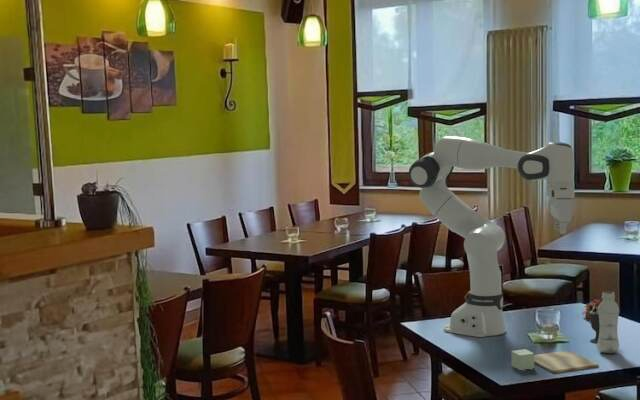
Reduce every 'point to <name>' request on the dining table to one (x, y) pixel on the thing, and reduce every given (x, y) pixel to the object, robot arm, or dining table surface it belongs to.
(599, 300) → the flower
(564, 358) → the tan square board
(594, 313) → the sundae
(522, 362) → the sage block
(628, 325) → the dining table surface
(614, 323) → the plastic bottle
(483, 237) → the robot arm
